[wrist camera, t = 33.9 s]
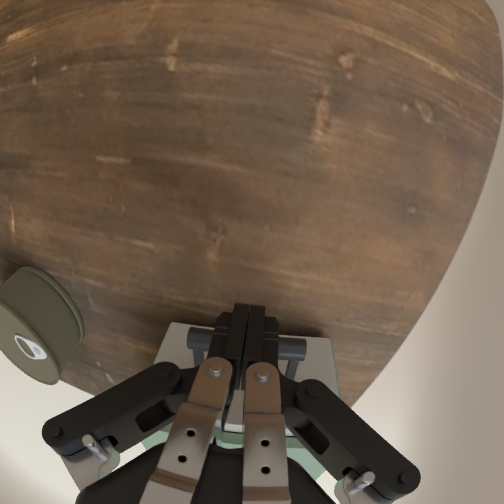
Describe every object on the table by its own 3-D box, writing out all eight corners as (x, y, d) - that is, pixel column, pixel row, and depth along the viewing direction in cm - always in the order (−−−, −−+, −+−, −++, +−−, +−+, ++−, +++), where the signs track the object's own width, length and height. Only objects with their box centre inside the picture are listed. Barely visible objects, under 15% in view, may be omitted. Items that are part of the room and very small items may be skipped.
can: (1, 268, 25) (-32, 299, 19) (54, 259, 23) (12, 299, 17) (43, 342, 30) (19, 375, 24) (102, 349, 28) (77, 393, 22)
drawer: (165, 273, 21) (116, 360, 13) (344, 291, 21) (370, 387, 13) (187, 406, 30) (171, 469, 23) (299, 418, 30) (299, 483, 22)
